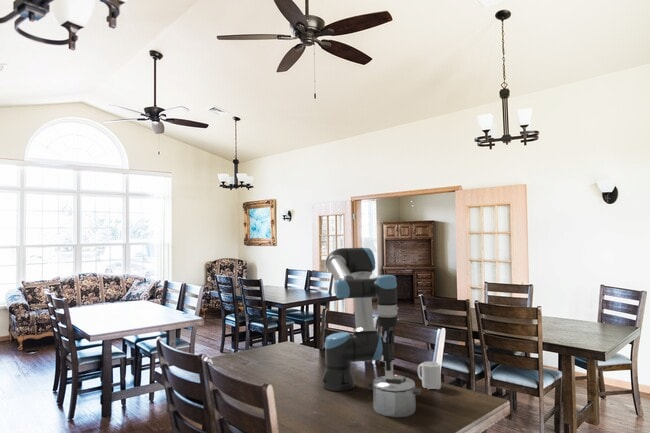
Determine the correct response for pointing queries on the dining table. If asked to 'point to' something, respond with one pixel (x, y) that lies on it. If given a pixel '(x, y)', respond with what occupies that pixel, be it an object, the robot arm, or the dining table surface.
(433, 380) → the cup
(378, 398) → the pot
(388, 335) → the robot arm
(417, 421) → the dining table surface
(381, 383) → the lid
